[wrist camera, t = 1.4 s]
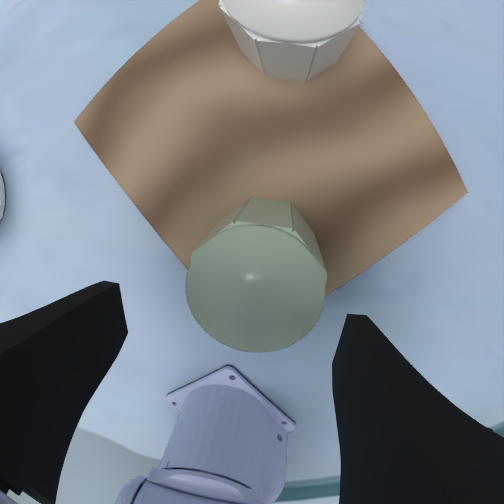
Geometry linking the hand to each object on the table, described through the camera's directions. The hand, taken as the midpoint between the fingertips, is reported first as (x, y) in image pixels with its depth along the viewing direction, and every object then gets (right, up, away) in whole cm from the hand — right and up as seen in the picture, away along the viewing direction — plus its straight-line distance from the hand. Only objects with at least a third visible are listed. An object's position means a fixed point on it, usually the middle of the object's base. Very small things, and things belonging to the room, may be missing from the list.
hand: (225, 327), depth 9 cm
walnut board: (+2, +9, +7) cm, 12 cm away
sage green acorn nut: (+2, +3, +9) cm, 10 cm away
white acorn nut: (+3, +15, +5) cm, 16 cm away
